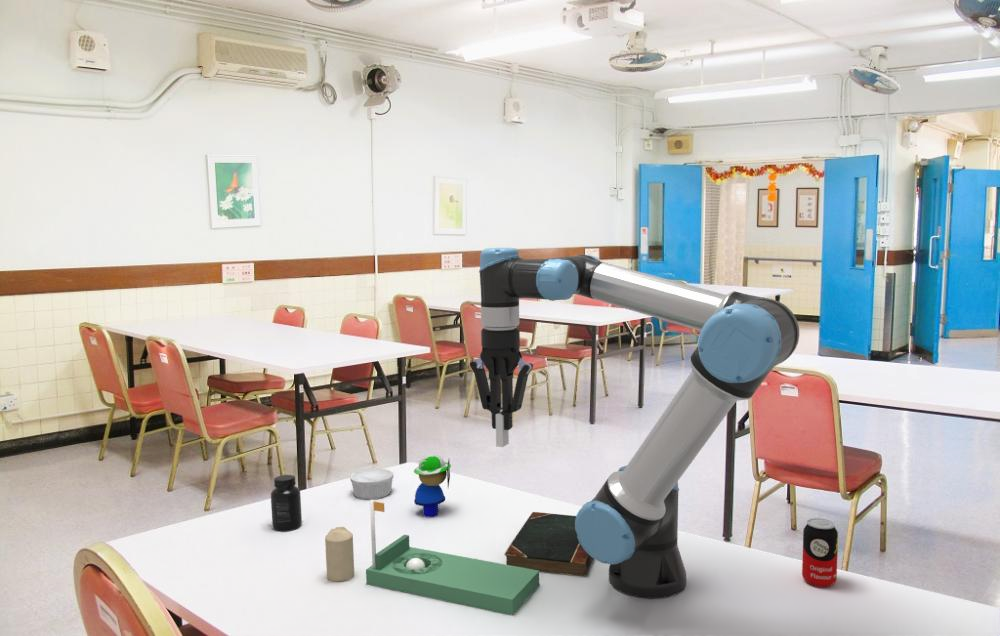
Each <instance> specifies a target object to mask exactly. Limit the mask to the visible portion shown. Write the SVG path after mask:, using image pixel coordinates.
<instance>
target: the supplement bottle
mask: <svg viewBox="0 0 1000 636" xmlns="http://www.w3.org/2000/svg"><path fill="white" fill-rule="evenodd" d="M273 481H274V482H273V486H274V489H272V490H271V493H270V503H271V504H270V506H271V520H272V521H271V523H272V528H273V529H274V530H276V531H279V532H287V531H293V530H296V529H298V528H300V527H301V526H302V523H303V519H302V515H303V514H302V501H301V499H302V498H301V497H302V496H301V490H300V488H299V487H297V486H296V483H297V482H296V476H295V475H294V474H282V475H278V476H275V478H274V479H273Z"/></svg>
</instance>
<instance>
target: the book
mask: <svg viewBox="0 0 1000 636" xmlns="http://www.w3.org/2000/svg"><path fill="white" fill-rule="evenodd" d="M576 516H577V515H571V514H570V515H569V514H559V513H547V512H538V511H532V512H531V514H530V515H528V518H527V519H526V521H525V522H524V524H523V525H522V527H521V528H520V530H519V531H518V532H517V534H516V535H515V537H514V539H513V540H512V542H511V543H510V544H509V546H508V547H507V549H506V551H505V553H504V555H503V556H505V557H506V561H505V562H506V563H505V565H511V566H516V567H522V568H527V569H532V570H538V571H539V572H542V573H550V574H551V573H552V574H560V575H561V574H562V575H569V576H570V575H571V576H579V577H585V578H586V576H587V575H588V572H589V569H590V566H591V564H592V562H593V559H594V558H592V557H591V556H590V555H589V554H588V553H587V552H586V551H585V550H584V549H583V547H582V546H581V544H580V542H579V540H578V538H577V536H578V535H577V532H576V530H575V519H576Z"/></svg>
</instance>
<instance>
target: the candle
mask: <svg viewBox="0 0 1000 636" xmlns="http://www.w3.org/2000/svg"><path fill="white" fill-rule="evenodd" d="M353 535H354V534H353V533H352V532H351V531H350V530H349V529H347V528H346V527H345V526H336V527H335V528H331V529H330V530H329V532H328V533H327V534H326V535H325V537H324V540H325V541H324V543H325V544H324V545H325V560H326V561H325V564H326V578H327V579H328V581H331V582H337V583H339V582H345V581H349V580H351V579H352V578H353V577H354V575H355V559H354V556H355V555H354V538H353Z"/></svg>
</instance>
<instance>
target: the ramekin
mask: <svg viewBox="0 0 1000 636" xmlns="http://www.w3.org/2000/svg"><path fill="white" fill-rule="evenodd" d="M393 479H394V472H393V471H391V470H389V469H386V468H366V469H362V470H358V471H356V472H353V473H352V474H351V475H350V479H349V480H350V482H351V485H352V486H351V487H352V490H353V493H354V495H355V496H356V498H358V499H362V500H378V499H382V498H385V497H387V496H388V495H390V494H391V491H392V486H393Z"/></svg>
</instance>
